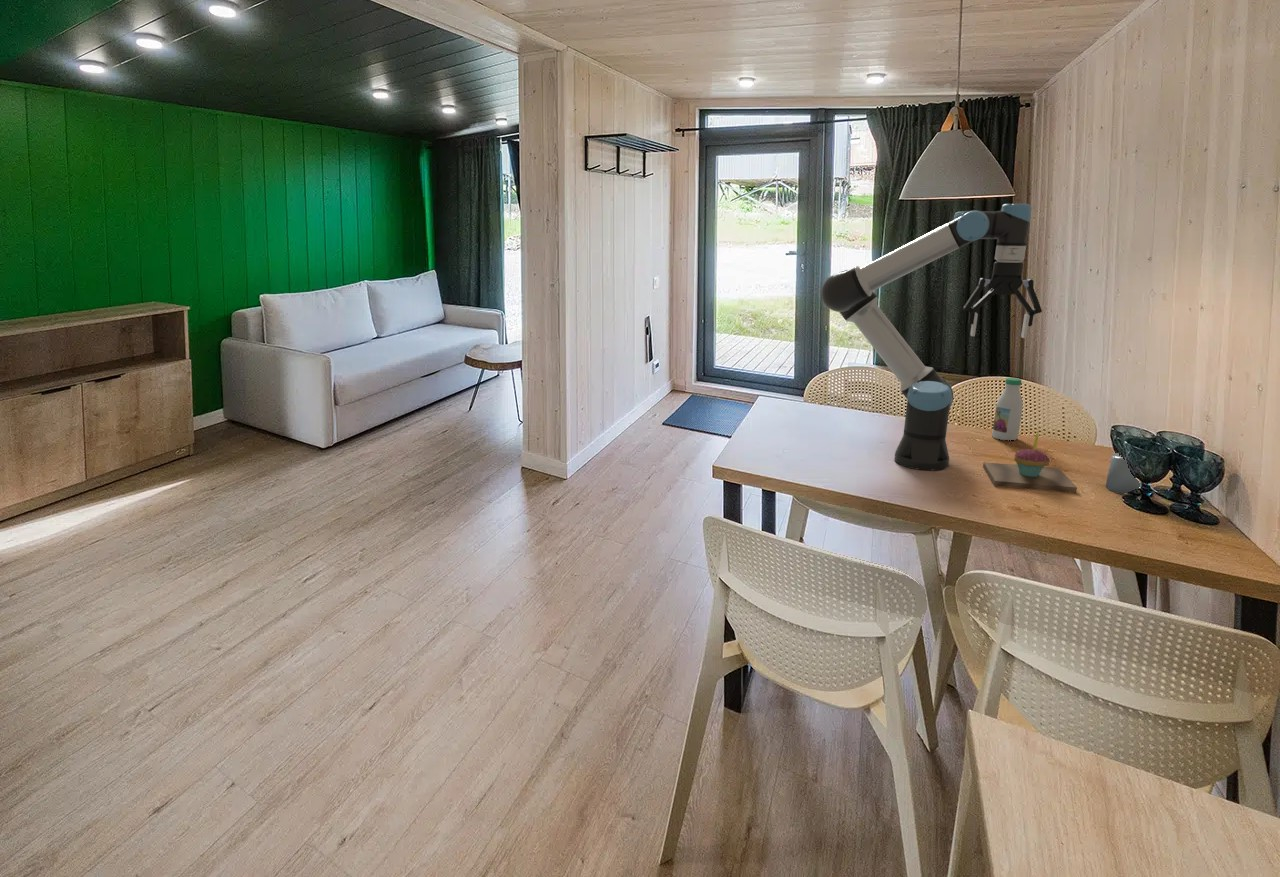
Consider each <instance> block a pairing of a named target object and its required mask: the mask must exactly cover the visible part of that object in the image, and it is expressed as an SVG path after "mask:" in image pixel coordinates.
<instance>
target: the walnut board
mask: <svg viewBox="0 0 1280 877" xmlns="http://www.w3.org/2000/svg"><path fill="white" fill-rule="evenodd" d="M982 468H983V470H984V472H985V473H986V475H987V477H988V478H989V480H990V481H991V483H992V485H993V486H994V487H1001V488H1002V487H1003V488H1015V489H1016V488H1017V489H1023V490H1038V491H1050V492H1052V491H1053V492H1062V493H1074V494H1077V489H1078V487H1077V486H1076V485H1075V484H1074V482H1073V481H1072V480H1071V479H1070V478H1069V477H1068V476H1067V475H1066V473H1065V472H1064V471H1063V470H1062V469H1061V467H1052V466H1051V467H1048V466H1044V467H1043V469H1042V470H1041V472H1040V473H1039V475H1038V476H1037V477H1028V476H1024V475H1021V474H1020V473H1019V468H1018V465H1017V464H1010V463H1008V464H1007V463H999V462H984V461H983V463H982Z"/></svg>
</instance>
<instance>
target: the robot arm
mask: <svg viewBox="0 0 1280 877" xmlns="http://www.w3.org/2000/svg"><path fill="white" fill-rule="evenodd" d="M1032 208H1033V207H1032V206H1031V204H1029V203H1004V204H1002V206H1001V208H1000V210H996V211H991V210H990V211H987V210H986V211H985V210H983V211H982V210H976V209H974V210H963V211H957V212H955V213H954V215H953V220H951V221H949V222H947V223H945V224H943V225H941V226H938V227H937V228H935V229H933V230H931V231H929V232H927V233H924V235H922V236H920V237H917V238H916V239H914V240H912V241H910V242H908V243H906V244H903V245H902V246H901V247H898V248H897V249H894V250H893V251H891V252H888V253H887V254H885V255H883V256H881V257H879V258H877V259H876V260H873V261H871V262H869V263H867V264H866V265H864V266H862V267H861V266H859V265H856V266H854V267H852V268H850V269H844V270H841V271H839V272H837V273H835V274H834V273H833V274H832V275H831V276H829V277H828V278H827V279H826V280H824V283H823V285H822V287H821V292H820V294H821V299H822V301H823V304H824V305H825V306H826V307H827V308H828V309H829V310H831V311H834V312H837V313H839V314H840V315H841V316H842V318H843V319H844V320H845V321H846V322H849V323H854V324H855V326H856V327H857V329H858V330H859V331H860V332H861V334H862V335H863V336H864V338H865V339H866V340H867V342H868V343H869V344H870V346H871V347H872V348H873V349H874V350H875V352H876V353H877V354H878V356H879V357H880V358H881V359H882V360H883V362H884V363H885V365H886V366H887V367H888V368H889V370H890V371H891V373H892V374H893V375H894V377H896V379H897V380H898V381H899V382H900V389H899V390H900V392H901V393H902V395H903V396H904V397H905V399H906V400H907V401H906V410H905V416H904V417H905V418H904V427H903V434H902V437H901V440H900V441H899V444H898V445H897V446H896V447H897V448H896V450H895V452H894V461H895V462H896V463H897V464H899V466H900V465H901V466H904V467H907V468H910V469H915V470H922V471H940V470H943V469H944V470H945V469H946V468H948V467H949V465H950V455H949V450H948V446H947V441H946V440H947V439H946V438H947V430H948V422H949V414H950V411H951V407H952V405H953V403H954V391H953V388H952V385H951V384H950V383H949V382H948V381H947V380H946V379H944V378H943V377H942V376H940V374H938V372H937V371H936V370H935V368H934V367H931V366H926V365H925V364H924V363H923V362H922V360H921V359H920V358H919V356H918V355H917V354H916V353H915V351H914V350H913V348H912V347H911V346H910V345H909V344H908V342H907V341H906V340H905V338H904V337H903V336H902V335H901V333H899V331H898V330H897V329H896V327H895V325H893V323H892V322H891V320H890V319H889V318H888V317H887V315H886V314H885V313H884V312H883V310H882V309H881V308H880V307H879V306H878V296H877V294H876V293H875V292H874V291H876V290H878V289H880V288H881V287H883V286H885V285H888V284H890V283H892V282H894V281H896V280H898V279H900V278H901V277H904V276H906V275H908V274H910V273H911V272H914V271H916V270H918V269H920V268H922V267H924V266H926V265H928V264H931V263H932V262H934V261H936V260H938V259H940V258H942V257H944V256H946V255H948V254H950V253H952V252H954V251H956V250H958V249H960V248H963V247H965V246H967V245H968V244H971V243H973V242H974V241H975V242H976V241H978V240H985V239H986V240H996V246H995V254H994V260H996V261H995V262H993V268H992V272H991V273H992V274H991V278H990V279H987V278H983V277H980V278H979V279H978V284H977V286H976V288H975V289H974V290H973V293H971V295H970V297H969V298H968V300H966V303H965V304H964V305H963V307H962V310H964V311H966V312H967V313H968V314H969V315H968V321H967V323H968V324H969V325H971V328H970V334H969V335H970V336H971V337H975V335H976V330H977V324H978V313H977V312H978V310H979V309H980V308H981V307H983V306H984V305H985V304H986V303H987V302H988V301H989V300H990V299H991V298H992V297H994V296H995V295H998V296H1004V295H1006V296H1012V295H1013V296H1015V298H1016V299H1017V300H1018V303H1020V304H1021V306H1022V307H1023V309H1024V310H1025V311H1026V312H1027V313H1024V316H1023V323H1022V328H1021V334H1020V338H1022V339H1027V335H1028V329H1029V327H1032V326H1033V322H1034V316H1035V315H1037V314H1041V313H1042V311H1043V309H1042V307H1041V305H1040V304H1041V303H1040V301H1039V299H1038V296H1037V294H1036V290H1035V288H1034V280H1033V279H1031V278H1028V279H1023V278H1022V276H1023V270H1024V262H1023V261H1024V260H1025V255H1026V249H1027V243H1028V237H1029V231H1030V225H1031V216H1032ZM988 285H990V287H991V289H989V290H988V291H987V292H986V293H985V294H984V295H983V296H982V298H980V299H979V300H978V301H977V302H976V303H975V301H976V299H977V298H978V297H979V295H980V294H981V292H982V291H983V290H984V287H987V286H988ZM1022 286H1023V287H1024V288H1026V290H1027V293H1028V297H1029V299H1030V302H1031V304H1032V306H1031V305H1030V304H1029V302H1028V301H1027V299H1025V298H1024V296H1023V295H1022V293H1021V292H1020V290H1019V289H1020V287H1022ZM974 303H975V304H974ZM972 305H973V306H972ZM1032 307H1033V308H1032Z"/></svg>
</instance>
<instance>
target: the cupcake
mask: <svg viewBox="0 0 1280 877" xmlns="http://www.w3.org/2000/svg"><path fill="white" fill-rule="evenodd" d="M1039 436H1040V435H1039V431H1037V433H1036V434H1035V439H1034V443H1033V447H1032V448H1024V449H1020V450H1018V451H1016V453H1015V455H1014V458H1013V460H1014V461H1015V463H1016V465H1018V468H1019V473H1020V474H1021V475H1024V476H1028V477H1037V476H1038V475H1039V473H1040V472H1041V470H1042V469H1043V467H1048V466H1049V464H1050V458H1049V456H1048V454H1047V453H1045V452H1043V451H1041V450H1038V449H1037V445H1038V440H1039Z"/></svg>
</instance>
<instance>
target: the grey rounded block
mask: <svg viewBox="0 0 1280 877" xmlns="http://www.w3.org/2000/svg"><path fill="white" fill-rule="evenodd" d="M1119 453H1120V452H1116V453H1115V452H1114V453H1112V454H1111V457H1110V463H1109V467H1108V472H1107V478H1106V482H1105V489H1107V490H1108V491H1110V492H1114V493H1116V494H1120V495H1125V494H1124V493H1128V492H1130V491H1132V490H1135V489H1138V488H1139V487H1140V483H1139V481H1138V480H1137V479H1135V478H1134V476H1133V475H1132V474H1131V472H1130V469H1129V468H1128V464H1127V461H1126V460H1124V459H1123V457H1121V455H1120V456H1119Z"/></svg>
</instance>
